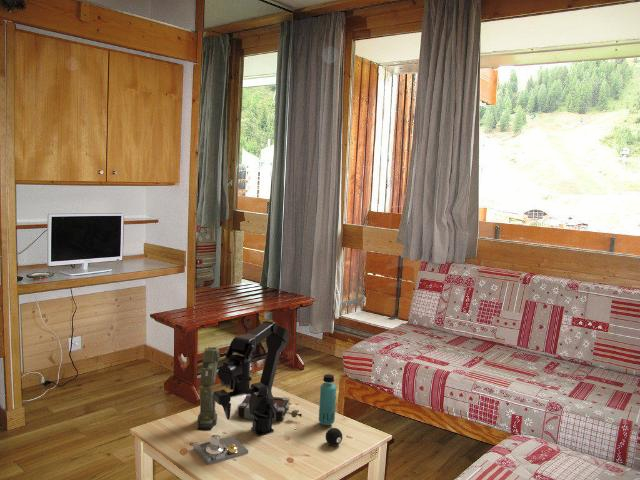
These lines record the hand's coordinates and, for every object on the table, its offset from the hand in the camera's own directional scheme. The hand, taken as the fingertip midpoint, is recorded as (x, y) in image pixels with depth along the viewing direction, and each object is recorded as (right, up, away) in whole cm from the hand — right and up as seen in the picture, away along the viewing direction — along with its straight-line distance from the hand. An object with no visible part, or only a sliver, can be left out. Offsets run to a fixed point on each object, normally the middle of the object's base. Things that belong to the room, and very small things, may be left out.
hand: (240, 416), depth 189 cm
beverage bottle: (+30, -11, +24) cm, 40 cm away
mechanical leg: (-15, -9, +20) cm, 27 cm away
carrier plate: (-7, -12, 0) cm, 14 cm away
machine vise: (+9, -9, +31) cm, 33 cm away
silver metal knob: (-8, -11, -3) cm, 14 cm away
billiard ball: (+33, -13, +8) cm, 36 cm away
